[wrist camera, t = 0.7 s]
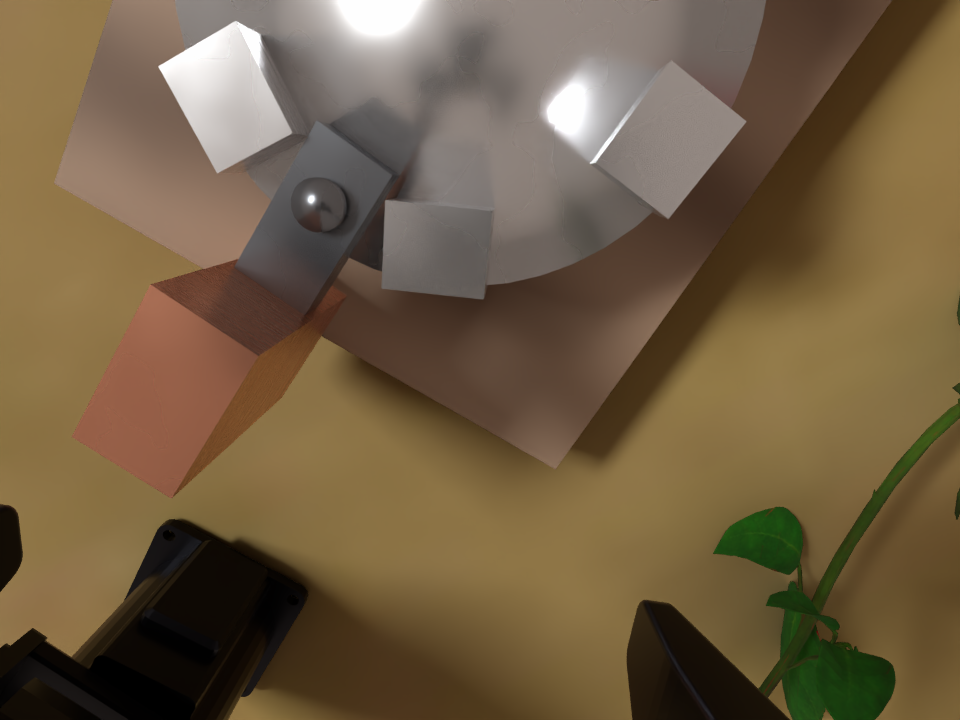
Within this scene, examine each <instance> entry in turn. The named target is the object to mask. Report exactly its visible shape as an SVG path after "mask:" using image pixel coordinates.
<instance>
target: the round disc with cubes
mask: <svg viewBox="0 0 960 720" xmlns="http://www.w3.org/2000/svg"><path fill="white" fill-rule="evenodd" d="M765 3H766V0H175V4H176V11H177V15H178V20H179V24H180V29H181V33H182V37H183V42H184V46H185V51H184V52H182V53H180V54H179V55H177V56H175V57H173V58H172V59H170V60H168V61H167V62H165V63H163V64H162V65H160V66H158V67H159V69H160V70H161V72H162V74H163V76H164V78H165V79H166V81H167V83H168V85H169V87H170V89H171V90H172V92H173V94H174V96H175V98H176V99H177V101H178V103H179V105H180V107H181V109H182V110H183V112H184V114H185V116H186V118H187V119H188V121H189V123H190V125H191V127H192V128H193V130H194V132H195V134H196V136H197V138H198V139H199V141H200V143H201V145H202V147H203V148H204V150H205V152H206V154H207V156H208V158H209V159H210V161H211V163H212V165H213V167H214V168H215V170H216V172H217V173H244V172H247V173H248V174H249V176H250V177H251V178H252V180H253V181H254V182H255V183H256V185H257V186H258V187H259V188H260V189H261V190H262V191H263V192H264V194H265V195H266V196H267V197H268V198H269V199H270V200H271V202H270V204H269V206H268V208H267V210H266V211H265V213H264V215H263V217H262V218H261V220H260V222H259V224H258V225H257V227H256V229H255V231H254V233H253V234H252V236H251V238H250V240H249V241H248V243H247V245H246V247H245V249H244V250H243V252H242V254H241V256H240V257H239V259H236V260H233V261H229V262H226V263H223V264H219V265H216V266H212V267H209V268H206V269H202V270H199V271H195V272H192V273H188V274H185V275H182V276H178V277H175V278H171V279H168V280H165V281H161V282H158V283H154V284H151V285H150V287H149V289H148V291H147V292H146V294H145V296H144V298H143V300H142V302H141V304H140V306H139V308H138V310H137V312H136V314H135V316H134V318H133V319H132V321H131V323H130V325H129V327H128V329H127V331H126V333H125V335H124V337H123V339H122V341H121V343H120V345H119V346H118V348H117V350H116V352H115V354H114V356H113V358H112V360H111V362H110V364H109V366H108V368H107V370H106V372H105V373H104V375H103V377H102V379H101V381H100V383H99V385H98V387H97V389H96V391H95V393H94V395H93V397H92V399H91V400H90V402H89V404H88V406H87V408H86V410H85V412H84V414H83V416H82V418H81V420H80V422H79V424H78V425H77V427H76V429H75V431H74V433H73V435H72V437H73V438H75V439H76V440H78V441H79V442H81V443H83V444H84V445H86V446H87V447H89V448H91V449H92V450H94V451H96V452H97V453H99V454H100V455H102V456H104V457H105V458H107V459H108V460H110V461H112V462H113V463H115V464H117V465H118V466H120V467H121V468H123V469H125V470H126V471H128V472H129V473H131V474H133V475H134V476H136V477H138V478H139V479H141V480H142V481H144V482H146V483H147V484H149V485H150V486H152V487H154V488H155V489H157V490H159V491H160V492H162V493H163V494H165V495H167V496H168V497H170V498H172V497H174V496H175V495H176V494H177V493H178V492H179V491H180V490H181V489H182V488H183V487H184V486H186V485H187V484H188V483H189V482H190V481H191V480H192V479H193V478H194V477H195V476H196V475H198V474H199V473H200V472H201V471H202V470H203V469H204V468H205V467H206V466H207V465H209V464H210V463H211V462H212V461H213V460H214V459H215V458H216V457H217V456H218V455H219V454H221V453H222V452H223V451H224V450H225V449H226V448H227V447H228V446H229V445H230V444H231V443H233V442H234V441H235V440H236V439H237V438H238V437H239V436H240V435H241V434H242V433H243V432H245V431H246V430H247V429H248V428H249V427H250V426H251V425H252V424H253V423H254V422H256V421H257V420H258V419H259V418H260V417H261V416H262V415H263V414H264V413H265V412H266V411H268V410H269V409H270V408H271V407H272V406H273V405H274V404H275V403H276V402H277V401H278V400H280V399H281V398H282V396H283V395H284V393H285V392H286V390H287V388H288V387H289V385H290V384H291V382H292V381H293V379H294V378H295V376H296V375H297V373H298V371H299V370H300V368H301V367H302V365H303V364H304V362H305V361H306V359H307V357H308V356H309V354H310V353H311V351H312V350H313V348H314V347H315V345H316V343H317V342H318V340H319V339H320V337H321V336H322V334H323V333H324V331H325V329H326V328H327V326H328V325H329V323H330V322H331V320H332V319H333V317H334V315H335V314H336V312H337V311H338V309H339V308H340V306H341V305H342V303H343V301H344V300H345V298H346V297H347V296H346V295H345V294H344V293H342V292H341V291H339V290H338V289H336V288H335V287H333V286H332V284H333V283H334V281H335V279H336V278H337V276H338V275H339V273H340V271H341V270H342V268H343V267H344V265H345V264H346V262H347V260H348V259H349V258H351V259H353V260H355V261H357V262H359V263H362V264H364V265H366V266H368V267H370V268H373V269H375V270H378V271H382V287H381V289H390V290H400V291H409V292H418V293H427V294H437V295H446V296H455V297H465V298H474V299H483V300H484V297H485V294H486V291H487V285H493V284H505V283H510V282H515V281H519V280H524V279H528V278H533V277H537V276H541V275H544V274H547V273H550V272H552V271H555V270H558V269H561V268H563V267H566V266H569V265H572V264H574V263H576V262H578V261H580V260H582V259H584V258H586V257H588V256H590V255H592V254H594V253H596V252H598V251H599V250H601V249H603V248H605V247H607V246H608V245H610V244H611V243H613V242H614V241H616V240H617V239H619V238H620V237H621V236H623V235H624V234H626V233H627V232H629V231H630V230H632V229H633V228H635V227H636V226H637V225H638V224H639V223H641V222H642V221H643V220H644V219H645V218H646V217H647V216H649V215H650V214H651V213H652V212H653V213H654V214H655V215H657V216H660V217H664V218H667V219H669V218H670V216H671V215H672V214H673V213H674V211H675V210H676V209H677V208H678V206H679V205H680V204H681V203H682V201H683V200H684V199H685V198H686V196H687V195H688V194H689V193H690V191H691V190H692V189H693V188H694V186H695V185H696V184H697V183H698V181H699V180H700V179H701V178H702V176H703V175H704V174H705V173H706V171H707V170H708V169H709V168H710V166H711V165H712V164H713V163H714V162H715V160H716V159H717V158H718V157H719V155H720V154H721V153H722V152H723V150H724V149H725V148H726V147H727V145H728V144H729V143H730V142H731V140H732V139H733V138H734V137H735V135H736V134H737V133H738V132H739V130H740V129H741V128H742V127H743V125H744V124H745V123H746V122H747V121H745V120H744V119H743V118H742V117H740V116H739V115H738V114H737V113H736V112H734V111H733V110H732V109H731V107H732V105H733V104H734V102H735V100H736V97H737V95H738V92H739V90H740V87H741V85H742V82H743V80H744V77H745V75H746V72H747V70H748V67H749V65H750V62H751V60H752V56H753V52H754V49H755V45H756V41H757V38H758V34H759V31H760V27H761V23H762V20H763V16H764V9H765Z"/></svg>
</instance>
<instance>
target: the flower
mask: <svg viewBox="0 0 960 720" xmlns="http://www.w3.org/2000/svg"><path fill="white" fill-rule="evenodd" d="M957 317H958V323H959V325H960V298H959V304H958V311H957ZM953 389H954V390H955V391H957V392H958V393H959V394H960V383H958V384H957V385H956V386H954V387H953ZM959 418H960V398H959V399H958V404H957V405H955V406H953V407H952V408H950V409H949V410H948V411H947V412H945V413H944V414H943V415H942V416H941V417H940V418H939V419H938V420H937V421H936V422H934V423H933V424H932V425H931V426H930V427H929V428H928V429H927V430H926V431H925V432H924V433H923V434H922V435H921V437H920V438H919V439H918V440H917V441H916V442H915V443H914V444H913V445H912V447H911V448H910V449H909V450H908V451H907V452H906V453H905V454H904V456H903V457H902V458H901V459H900V460H899V461H898V462H897V463H896V465H895V466H894V468H893V469H892V470H891V472H890V473H889V475H888V476H887V477H886V479H885V480H884V482H883V483H882V484H881V486H880V487H879V488H878V490H877V491H876V492H875V490H874V492H873V496H872V498H871V500H870V501H869V502H868V504H867V505H866V507H865V508H864V510H863V511H862V513H861V514H860V516H859V517H858V519H857V520H856V522H855V524H854V525H853V527H852V528H851V530H850V531H849V533H848V535H847V536H846V538H845V539H844V541H843V542H842V544H841V546H840V547H839V549H838V550H837V552H836V553H835V555H834V557H833V559H832V561H831V563H830V565H829V566H828V568H827V570H826V572H825V574H824V576H823V578H822V579H821V581H820V583H819V586H818V588H817V590H816V592H815V595H814V597H813V599H812V601H811V600H810V599H809V598H808V597H807V596H806V595H805V594H804V593H803V586H802V570H801V565H800V558H801V553H802V547H803V538H802V530H801V526H800V524H799V522H798V521H797V519H796V517H795V516H794V515H793V514H792V513H791V512H790V511H789V510H788V509H786V508H784V507H775V508H771V509H767V510H763V511H760V512H756V513H754V514H752V515H750V516H748V517H746V518H744V519H742V520H740V521H738V522H736V523H735V524H733V525H732V526H730V527H729V528H728V530H727V531H726V532H725V534H724V535H723V537H722V539H721V540H720V542H719V544H718V545H717V547H716V549H715V551H714V553H713V554H724V555H730V556H733V555H735V556H738V557H742V558H746V559H749V560H751V561H753V562H755V563H757V564H760V565H762V566H764V567H766V568H769V569H771V570H774V571H777V572H781V573H783V574H786V575H790V574H791V573H792V572H793V571H794V570H795V569H796V568H798V587H799V588H797V587H796V584H795V583H794V582H793V581H792V582H791V581H790V584H789V586H788V591H781V592H778V593H775V594H772V595H771V596H770V597H769V599H768V601H767V604H766V606H772V607H779V608H782V609H785V614H784V621H783V627H782V634H781V650H780V660H779V661H778V663H777V664H776V666H775V667H774V668H773V670H772V671H771V672H770V674H769V675H768V677H767V678H766V679H765V681H764V682H763V683H762V685H761V686H760V688H759V690H760V691H761V692H762V693H763V694H764V695H765V696H766V697H767V698H768V697H769V695H770V694H771V693H772V691H773V690H774V689H775V687H776V686H777V684H778V683H779V682H780V680H781V679H782V684H783V690H784V694H785V699H786V703H787V708H788V710H789V712H790V714H791V717H792V719H793V720H822V717H823V712H825V708H826V709H827V710H828V712H829V713H830V715H831V716H832V718H833V719H834V720H875V719H876V718H877V717H878V716H879V715H880V713H881V712H882V711H883V709H884V708H885V706H886V704H887V703H888V701H889V700H890V698H891V696H892V694H893V691H894V687H895V681H896V680H895V671H894V668H893V665H892V664H891V663H890V662H889V661H887V660H885V659H883V658H881V657H877V656H874V655H870V654H866V653H861V652H858V649H857V647H856V646H855V647H854V651H853V649H852V646H851V644H849V643H845V642H837V643H835V642H836V640H837V637H838V633H837V632H836V631H835V630H837V629H839V627H840V625H839V623H838V622H837V621H836V620H835V619H833V618H831V617H828V616H824V615H820V613H821V611H822V609H823V607H824V605H825V603H826V600H827V598H828V596H829V594H830V592H831V590H832V587H833V585H834V583H835V581H836V579H837V578H838V576H839V574H840V572H841V571H842V569H843V567H844V565H845V563H846V562H847V560H848V558H849V556H850V555H851V553H852V551H853V549H854V547H855V546H856V544H857V543H858V541H859V540H860V538H861V537H862V535H863V534H864V532H865V531H866V530H867V528H868V527H869V525H870V524H871V522H872V521H873V519H874V518H875V516H876V515H877V513H878V512H879V510H880V509H881V507H882V506H883V504H884V503H885V502H886V500H887V499H888V497H889V496H890V494H891V493H892V491H893V490H894V488H895V487H896V486H897V484H898V483H899V482H900V481H901V480H902V478H903V477H904V476H905V475H906V474H907V473H908V471H909V470H910V469H911V468H912V467H913V465H914V464H915V463H916V462H917V461H918V459H919V458H920V457H921V456H922V455H923V453H924V452H925V451H926V450H927V449H928V447H929V446H930V445H931V444H932V443H933V442H934V441H935V440H936V439H937V438H938V437H939V436H940V435H942V434H943V433H944V432H945V431H946V430H947V429H948V428H949V427H950V426H951V425H952V424H954V423H955V422H956V421H957V420H958V419H959ZM959 515H960V489H959V491H958V493H957V500H956V507H955V516H956V520H957V519H958V517H959ZM817 620H820V621H822V622H823V623H824V624H825V625H826V626H827V627H828V628H829V629H830V630H831V631H832V632H833V636H832V640H831V642H828V641H826V640H824V639H822V640H820V637H819V634H818V631H817V627H816V622H817ZM846 647H848V648H849V649H850V650H847V649H846Z"/></svg>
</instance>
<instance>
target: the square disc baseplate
mask: <svg viewBox="0 0 960 720" xmlns="http://www.w3.org/2000/svg"><path fill="white" fill-rule="evenodd" d="M891 1H892V0H766V3H765V9H764V16H763V20H762V23H761V27H760V31H759V34H758V38H757V41H756V45H755V49H754V52H753V56H752V60H751V62H750V65H749V67H748V70H747V72H746V75H745V77H744V80H743V82H742V85H741V87H740V90H739V92H738V95H737V97H736V100H735V102H734V104H733V105H732V107H731V109H732V110H733V111H734V112H736V113H737V114H738V115H739V116H740V117H742V118H743V119H744V120H745V121H747V122H746V123H745V124H744V125H743V127H742V128H741V129H740V130H739V132H738V133H737V134H736V135H735V137H734V138H733V139H732V140H731V142H730V143H729V144H728V145H727V147H726V148H725V149H724V150H723V152H722V153H721V154H720V155H719V157H718V158H717V159H716V160H715V162H714V163H713V164H712V165H711V166H710V168H709V169H708V170H707V171H706V173H705V174H704V175H703V176H702V178H701V179H700V180H699V181H698V183H697V184H696V185H695V186H694V188H693V189H692V190H691V191H690V193H689V194H688V195H687V196H686V198H685V199H684V200H683V201H682V203H681V204H680V205H679V206H678V208H677V209H676V210H675V211H674V213H673V214H672V215H671V216H670V218H669V219H667V218H664V217H660V216H657V215H655V214H654V213H653V212H652V213H651V214H650V215H649V216H647V217H646V218H645V219H644V220H643V221H642V222H641V223H639V224H638V225H637V226H636V227H635V228H633V229H632V230H630V231H629V232H627V233H626V234H624V235H623V236H621V237H620V238H619V239H617V240H616V241H614V242H613V243H611V244H610V245H608V246H607V247H605V248H603V249H601V250H599V251H598V252H596V253H594V254H592V255H590V256H588V257H586V258H584V259H582V260H580V261H578V262H576V263H574V264H572V265H569V266H566V267H563V268H561V269H558V270H555V271H552V272H550V273H547V274H544V275H541V276H537V277H533V278H528V279H524V280H519V281H515V282H510V283H505V284H493V285H487V291H486V294H485V297H484V300H483V299H474V298H465V297H455V296H446V295H437V294H427V293H418V292H409V291H400V290H390V289H381V287H382V271H378V270H375V269H373V268H370V267H368V266H366V265H364V264H362V263H359V262H357V261H355V260H353V259H351V258H349V259H348V260H347V262H346V264H345V265H344V267H343V268H342V270H341V271H340V273H339V275H338V276H337V278H336V279H335V281H334V283H333V284H332V286H333V287H335V288H336V289H338V290H339V291H341V292H342V293H344V294H345V295H346V296H347V297H346V298H345V300H344V301H343V303H342V305H341V306H340V308H339V309H338V311H337V312H336V314H335V315H334V317H333V319H332V320H331V322H330V323H329V325H328V326H327V328H326V329H325V331H324V333H323V334H322V336H323V337H324V338H326V339H328V340H330V341H331V342H333V343H335V344H337V345H338V346H340V347H342V348H344V349H345V350H347V351H349V352H351V353H352V354H354V355H356V356H358V357H359V358H361V359H363V360H365V361H366V362H368V363H370V364H372V365H373V366H375V367H377V368H379V369H380V370H382V371H384V372H386V373H387V374H389V375H391V376H393V377H394V378H396V379H398V380H400V381H401V382H403V383H405V384H407V385H408V386H410V387H412V388H414V389H415V390H417V391H419V392H421V393H423V394H424V395H426V396H428V397H430V398H431V399H433V400H435V401H437V402H438V403H440V404H442V405H444V406H445V407H447V408H449V409H451V410H452V411H454V412H456V413H458V414H459V415H461V416H463V417H465V418H466V419H468V420H470V421H472V422H473V423H475V424H477V425H479V426H480V427H482V428H484V429H486V430H487V431H489V432H491V433H493V434H494V435H496V436H498V437H500V438H501V439H503V440H505V441H507V442H508V443H510V444H512V445H514V446H515V447H517V448H519V449H521V450H522V451H524V452H526V453H528V454H529V455H531V456H533V457H535V458H536V459H538V460H540V461H542V462H543V463H545V464H547V465H549V466H551V467H552V468H554V469H556V468H557V466H558V465H559V464H560V462H561V461H562V460H563V458H564V457H565V455H566V454H567V453H568V451H569V450H570V448H571V447H572V446H573V444H574V443H575V441H576V440H577V439H578V437H579V436H580V434H581V433H582V432H583V430H584V429H585V427H586V426H587V425H588V423H589V422H590V421H591V419H592V418H593V416H594V415H595V414H596V412H597V411H598V409H599V408H600V407H601V405H602V404H603V402H604V401H605V400H606V398H607V397H608V395H609V394H610V393H611V391H612V390H613V388H614V387H615V386H616V384H617V383H618V382H619V380H620V379H621V377H622V376H623V375H624V373H625V372H626V370H627V369H628V368H629V366H630V365H631V363H632V362H633V361H634V359H635V358H636V356H637V355H638V354H639V352H640V351H641V349H642V348H643V347H644V345H645V344H646V342H647V341H648V340H649V338H650V337H651V336H652V334H653V333H654V331H655V330H656V329H657V327H658V326H659V324H660V323H661V322H662V320H663V319H664V317H665V316H666V315H667V313H668V312H669V310H670V309H671V308H672V306H673V305H674V303H675V302H676V301H677V299H678V298H679V297H680V295H681V294H682V292H683V291H684V290H685V288H686V287H687V285H688V284H689V283H690V281H691V280H692V278H693V277H694V276H695V274H696V273H697V271H698V270H699V269H700V267H701V266H702V264H703V263H704V262H705V260H706V259H707V258H708V256H709V255H710V253H711V252H712V251H713V249H714V248H715V246H716V245H717V244H718V242H719V241H720V239H721V238H722V237H723V235H724V234H725V232H726V231H727V230H728V228H729V227H730V225H731V224H732V223H733V221H734V220H735V219H736V217H737V216H738V214H739V213H740V212H741V210H742V209H743V207H744V206H745V205H746V203H747V202H748V200H749V199H750V198H751V196H752V195H753V193H754V192H755V191H756V189H757V188H758V186H759V185H760V184H761V182H762V181H763V180H764V178H765V177H766V175H767V174H768V173H769V171H770V170H771V168H772V167H773V166H774V164H775V163H776V161H777V160H778V159H779V157H780V156H781V154H782V153H783V152H784V150H785V149H786V147H787V146H788V145H789V143H790V142H791V141H792V139H793V138H794V136H795V135H796V134H797V132H798V131H799V129H800V128H801V127H802V125H803V124H804V122H805V121H806V120H807V118H808V117H809V115H810V114H811V113H812V111H813V110H814V108H815V107H816V106H817V104H818V103H819V101H820V100H821V99H822V97H823V96H824V95H825V93H826V92H827V90H828V89H829V88H830V86H831V85H832V83H833V82H834V81H835V79H836V78H837V76H838V75H839V74H840V72H841V71H842V69H843V68H844V67H845V65H846V64H847V62H848V61H849V60H850V58H851V57H852V56H853V54H854V53H855V51H856V50H857V49H858V47H859V46H860V44H861V43H862V42H863V40H864V39H865V37H866V36H867V35H868V33H869V32H870V30H871V29H872V28H873V26H874V25H875V23H876V22H877V21H878V19H879V18H880V17H881V15H882V14H883V12H884V11H885V10H886V8H887V7H888V5H889V4H890V3H891ZM184 51H185V46H184V42H183V37H182V33H181V29H180V24H179V20H178V15H177V11H176V4H175V0H113V1H112V4H111V7H110V10H109V13H108V17H107V20H106V23H105V26H104V29H103V32H102V35H101V38H100V42H99V45H98V48H97V51H96V54H95V57H94V60H93V63H92V67H91V70H90V73H89V76H88V79H87V82H86V85H85V88H84V92H83V95H82V98H81V101H80V104H79V107H78V110H77V113H76V116H75V120H74V123H73V126H72V129H71V132H70V135H69V138H68V141H67V145H66V148H65V151H64V154H63V157H62V160H61V163H60V166H59V170H58V173H57V176H56V179H55V182H54V184H56V185H58V186H60V187H61V188H63V189H65V190H67V191H68V192H70V193H72V194H74V195H75V196H77V197H79V198H81V199H82V200H84V201H86V202H88V203H89V204H91V205H93V206H95V207H96V208H98V209H100V210H102V211H103V212H105V213H107V214H109V215H110V216H112V217H114V218H116V219H117V220H119V221H121V222H123V223H124V224H126V225H128V226H130V227H131V228H133V229H135V230H137V231H138V232H140V233H142V234H144V235H145V236H147V237H149V238H151V239H152V240H154V241H156V242H158V243H159V244H161V245H163V246H165V247H167V248H168V249H170V250H172V251H174V252H175V253H177V254H179V255H181V256H182V257H184V258H186V259H188V260H189V261H191V262H193V263H195V264H196V265H198V266H200V267H202V268H203V269H206V268H209V267H212V266H216V265H219V264H223V263H226V262H229V261H233V260H236V259H239V257H240V256H241V254H242V252H243V250H244V249H245V247H246V245H247V243H248V241H249V240H250V238H251V236H252V234H253V233H254V231H255V229H256V227H257V225H258V224H259V222H260V220H261V218H262V217H263V215H264V213H265V211H266V210H267V208H268V206H269V204H270V202H271V200H270V199H269V198H268V197H267V196H266V195H265V194H264V192H263V191H262V190H261V189H260V188H259V187H258V186H257V185H256V183H255V182H254V181H253V180H252V178H251V177H250V176H249V174H248V173H247V172H244V173H217V172H216V170H215V168H214V167H213V165H212V163H211V161H210V159H209V158H208V156H207V154H206V152H205V150H204V148H203V147H202V145H201V143H200V141H199V139H198V138H197V136H196V134H195V132H194V130H193V128H192V127H191V125H190V123H189V121H188V119H187V118H186V116H185V114H184V112H183V110H182V109H181V107H180V105H179V103H178V101H177V99H176V98H175V96H174V94H173V92H172V90H171V89H170V87H169V85H168V83H167V81H166V79H165V78H164V76H163V74H162V72H161V70H160V69H159V67H158V66H160V65H162V64H163V63H165V62H167V61H168V60H170V59H172V58H173V57H175V56H177V55H179V54H180V53H182V52H184Z"/></svg>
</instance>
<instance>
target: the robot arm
mask: <svg viewBox="0 0 960 720" xmlns="http://www.w3.org/2000/svg"><path fill="white" fill-rule="evenodd" d="M170 531H172V532H173V533H174V534H175V535H172V534H171V533H170ZM22 557H23V551H22V543H21V534H20V526H19V517H18V513H17V512H16V510H15V509H14V508H13V507H11V506H9V505H3V504H0V592H1V591H2V589H3V588H4V587H5V586H6V585H7V583H8V582H9V581H10V580H11V579H12V577H13V576H14V575H15V574H16V572H17V571H18V569H19V567H20V564H21V562H22ZM291 595H295V596H296V597H298V599H296V598H294V597H292V596H291ZM307 598H308V591H307V590H306V588H305V587H304V586H302V585H301V584H299V583H297V582H295V581H293V580H291V579H289V578H287V577H285V576H283V575H282V574H280V573H278V572H276V571H274V570H272V569H270V568H268V567H266V566H264V565H262V564H261V563H259V562H257V561H255V560H253V559H251V558H249V557H247V556H245V555H243V554H241V553H240V552H238V551H236V550H234V549H232V548H230V547H228V546H226V545H224V544H222V543H220V542H219V541H217V540H215V539H213V538H211V537H209V536H207V535H205V534H203V533H201V532H199V531H198V530H196V529H194V528H192V527H190V526H188V525H186V524H184V523H182V522H180V521H178V520H175V519H170V520H167V521H166V522H165V523H163V524H162V525H161V526H160V527H159V529H158V530H157V532H156V534H155V536H154V538H153V541H152V543H151V545H150V547H149V549H148V551H147V553H146V555H145V558H144V560H143V562H142V564H141V566H140V568H139V570H138V572H137V575H136V577H135V579H134V581H133V583H132V585H131V587H130V589H129V592H128V594H127V596H126V598H125V600H124V602H123V603H122V604H121V605H120V606H119V607H118V608H117V609H116V610H115V611H114V612H113V614H112V615H111V616H110V617H109V618H108V619H107V620H106V621H105V622H104V623H103V624H102V625H101V626H100V627H99V628H98V629H97V631H96V632H95V633H94V634H93V635H92V636H91V637H90V638H89V639H88V640H87V641H86V642H85V643H84V644H83V645H82V646H81V648H80V649H79V650H78V651H77V652H76V653H75V654H74V655H73V656H72V657H70V656H69V655H67V654H66V653H64V652H62V651H61V650H59V649H58V648H56V647H55V646H53V645H52V644H50V643H49V642H47V641H46V639H47V637H46V636H44V635H43V634H41V633H40V632H38V631H37V630H35V629H34V628H32V629H31V630H30V631H28V632H27V633H26V634H25V635H23V636H22V637H21V638H20V639H18V640H17V641H16V642H15V643H14V644H12V645H11V646H10V645H8V644H7V643H6V644H5V645H3V646H2V647H1V648H0V720H228V719H229V717H230V715H231V713H232V712H233V710H234V708H235V706H236V704H237V702H238V701H239V699H240V697H246V696H248V695H250V694H251V692H252V691H253V689H254V687H255V686H256V684H257V682H258V681H259V679H260V677H261V676H262V674H263V672H264V671H265V669H266V667H267V666H268V664H269V662H270V661H271V659H272V658H273V656H274V654H275V653H276V651H277V649H278V648H279V646H280V644H281V643H282V641H283V639H284V638H285V636H286V634H287V633H288V631H289V629H290V628H291V626H292V624H293V623H294V621H295V619H296V618H297V616H298V615H299V613H300V611H301V610H302V608H303V606H304V604H305V602H306V600H307ZM627 671H628V681H629V691H630V700H631V710H632V720H790V719H789V718H788V717H787V716H786V715H785V714H784V713H783V712H782V711H781V710H779V709H778V708H777V707H776V706H775V705H774V704H773V703H772V702H771V701H770V700H769V699H768V698H767V697H766V696H765V695H764V694H763V693H762V692H761V691H760V690H759V689H758V688H757V687H756V686H755V685H754V684H753V683H752V682H751V681H750V680H749V679H748V678H747V677H746V676H745V675H744V674H743V673H741V672H740V671H739V670H738V669H737V668H736V667H735V666H734V665H733V664H732V663H731V662H730V661H729V660H728V659H727V658H726V657H725V656H724V655H723V654H722V653H721V652H720V651H719V650H718V649H717V648H716V647H715V646H714V645H713V644H712V643H711V642H710V641H709V640H708V639H707V638H706V637H705V636H704V635H702V634H701V633H700V632H699V631H698V630H697V629H696V628H695V627H694V626H693V625H692V624H691V623H690V622H689V621H688V620H687V619H686V618H685V617H684V616H683V615H682V614H681V613H680V612H679V611H678V610H677V609H676V608H675V607H674V606H672V605H671V604H669V603H664V602H657V601H651V600H643V601H641V602H640V604H639V606H638V608H637V611H636V615H635V619H634V623H633V627H632V631H631V635H630V639H629V643H628V648H627Z"/></svg>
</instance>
